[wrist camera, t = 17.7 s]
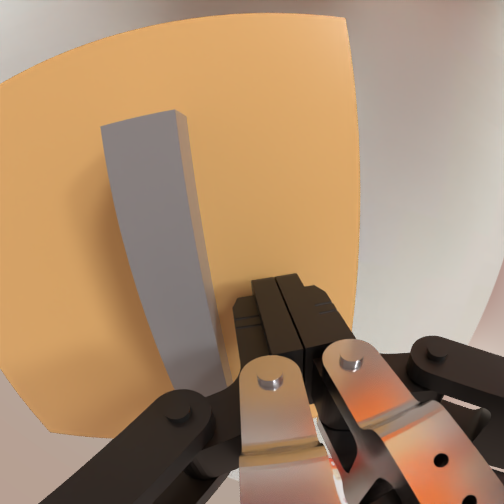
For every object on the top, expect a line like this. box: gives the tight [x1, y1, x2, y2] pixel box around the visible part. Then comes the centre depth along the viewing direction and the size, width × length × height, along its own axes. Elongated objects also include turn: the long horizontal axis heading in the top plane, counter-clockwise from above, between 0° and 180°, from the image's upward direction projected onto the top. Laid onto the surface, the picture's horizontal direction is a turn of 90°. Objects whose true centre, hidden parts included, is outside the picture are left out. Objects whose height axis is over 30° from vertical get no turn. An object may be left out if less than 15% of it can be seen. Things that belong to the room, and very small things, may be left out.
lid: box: [0, 13, 360, 438], centre depth 9 cm, size 18×18×4 cm
